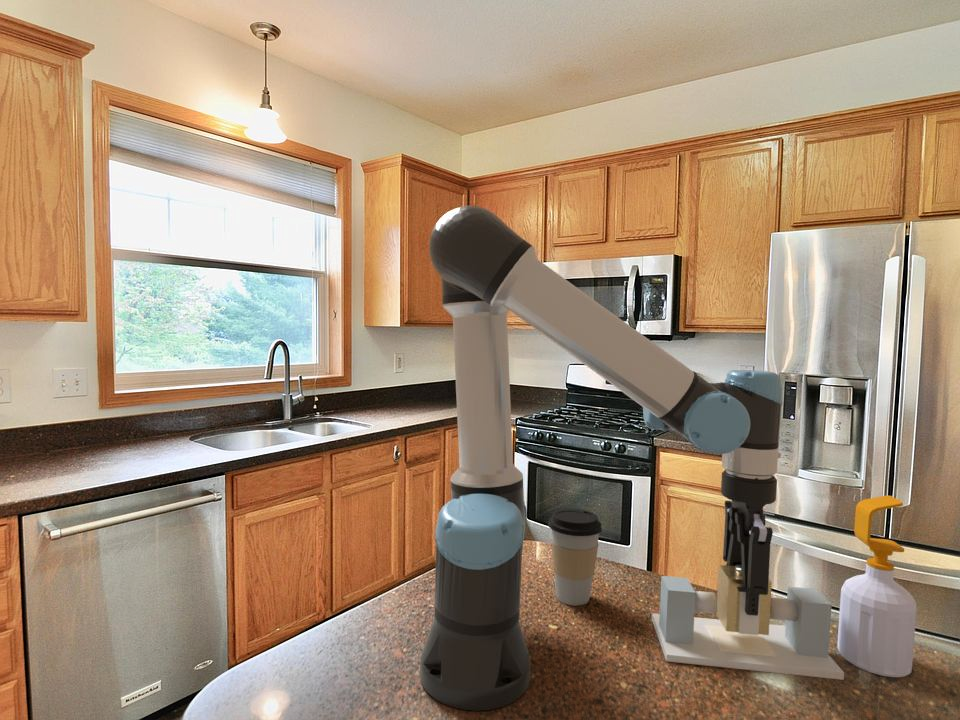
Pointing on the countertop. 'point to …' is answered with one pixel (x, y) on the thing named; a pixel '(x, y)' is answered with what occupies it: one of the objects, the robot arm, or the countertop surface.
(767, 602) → the block
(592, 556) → the coffee cup
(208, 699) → the countertop surface
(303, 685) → the countertop surface
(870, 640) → the soap bottle
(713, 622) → the shaft rig
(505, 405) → the robot arm
